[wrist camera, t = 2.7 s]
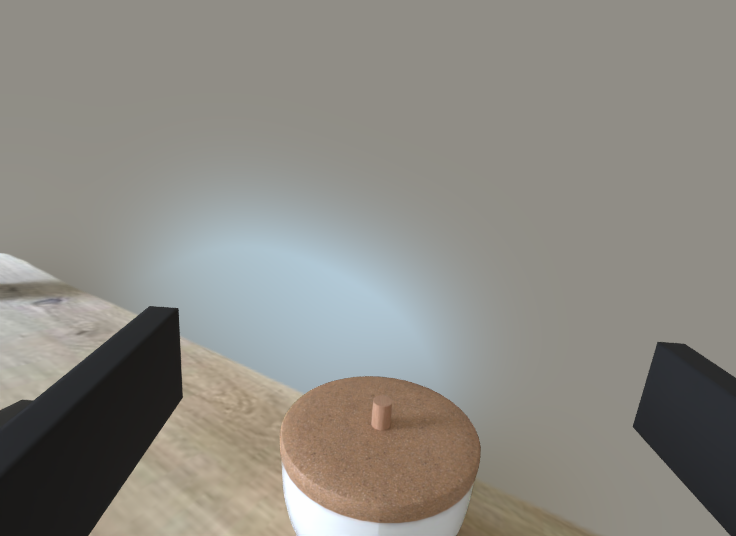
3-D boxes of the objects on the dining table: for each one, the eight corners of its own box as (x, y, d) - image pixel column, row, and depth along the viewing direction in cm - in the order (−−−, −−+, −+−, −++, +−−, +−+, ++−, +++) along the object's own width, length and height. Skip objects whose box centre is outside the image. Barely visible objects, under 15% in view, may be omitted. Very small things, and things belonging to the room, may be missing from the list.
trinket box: (447, 477, 32) (465, 359, 29) (480, 643, 22) (511, 483, 19) (296, 466, 32) (299, 346, 29) (256, 626, 22) (256, 465, 19)
